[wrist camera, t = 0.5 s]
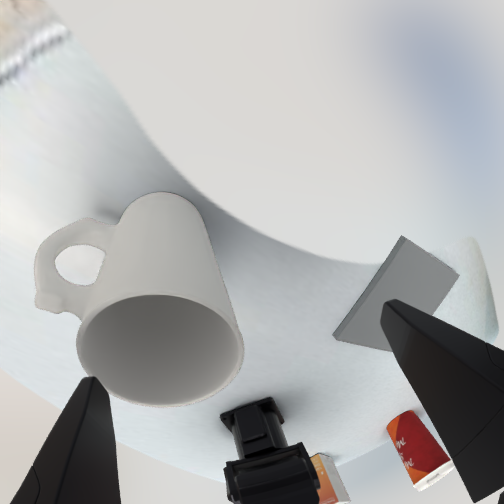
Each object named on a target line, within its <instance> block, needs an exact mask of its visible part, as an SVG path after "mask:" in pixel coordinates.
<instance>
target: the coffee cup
mask: <svg viewBox="0 0 504 504" xmlns="http://www.w3.org/2000/svg"><path fill="white" fill-rule="evenodd" d="M387 431H388V433H389V435H390V437H391V439H392V441H393V443H394V445H395V447H396V449H397V451H398V453H399V455H400V457H401V459H402V461H403V463H404V465H405V468H406V470H407V471H408V474H409V476H410V478H411V480H412V482H413V484H414V486H413V487H414V488H416V489H417V490H418V491H421V490H423V489H425V488H427V487H429V486H431V485H432V484H434V483H435V482H437V481H438V480H440V479H441V478H442V477H444V476H445V475H446V474H448V473H449V472H450V471H451V470H453V468H454V465H453V461H452V460H450V458H449V457H448V456H447V454H446V453H445V452H444V451H443V449H442V448H441V446H440V445H439V444H438V443H437V441H436V440H435V438H434V437H433V436H432V434H431V433H430V432H429V430H428V429H427V428H426V427H425V425H424V424H423V423H422V421H421V420H420V419H419V418H418V416H417V415H416V414H415V413H414V412H413V411H412V410H410V411H406V412H404V413H402V414H400V415H399V416H397V417H396V418H395V419H393V420H392V421H391V422H390V423H389V424H388V426H387Z"/></svg>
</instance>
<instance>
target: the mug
mask: <svg viewBox="0 0 504 504" xmlns="http://www.w3.org/2000/svg"><path fill="white" fill-rule="evenodd" d="M74 245H91V246H94V247H97V248H99V249H101V250H102V251H104V252H105V254H106V256H105V258H104V261H103V264H102V266H101V269H100V272H99V274H98V277H97V279H96V281H95V282H94V283H93V284H91V285H86V286H84V285H77V284H74V283H71V282H69V281H67V280H65V279H64V278H63V277H62V276H61V275H60V274H59V273H58V271H57V269H56V267H55V259H56V257H57V256H58V255H59V254H60V253H61V252H62V251H63V250H65V249H66V248H68V247H70V246H74ZM34 279H35V286H36V295H35V306H36V307H37V308H38V309H42V310H46V311H49V312H52V313H55V314H59V313H62V312H70V313H72V314H75V315H76V316H77V317H79V319H80V320H81V321H82V323H81V325H80V327H79V330H78V333H77V338H76V348H77V354H78V357H79V360H80V363H81V365H82V367H83V368H84V370H85V372H86V373H87V374H88V376H89V377H90V376H95V377H97V378H98V380H99V381H100V382H101V384H102V385H103V386H104V388H105V389H106V390H107V392H108V393H109V394H111V395H113V396H115V397H117V398H119V399H121V400H124V401H127V402H130V403H133V404H137V405H141V406H147V407H158V408H168V407H179V406H185V405H189V404H193V403H197V402H199V401H202V400H205V399H207V398H209V397H211V396H213V395H215V394H216V393H218V392H219V391H221V390H222V389H224V388H225V387H226V386H227V385H228V384H229V383H230V382H231V381H232V380H233V379H234V378H235V377H236V375H237V374H238V372H239V370H240V368H241V365H242V362H243V358H244V343H243V338H242V335H241V333H240V331H239V328H238V325H237V321H236V318H235V314H234V311H233V308H232V305H231V302H230V299H229V296H228V293H227V290H226V287H225V284H224V281H223V279H222V276H221V273H220V270H219V267H218V264H217V261H216V258H215V255H214V252H213V248H212V245H211V242H210V239H209V236H208V233H207V231H206V228H205V225H204V222H203V219H202V217H201V215H200V213H199V212H198V210H197V209H196V208H195V206H194V205H193V204H192V203H190V202H189V201H188V200H186V199H185V198H183V197H181V196H179V195H176V194H173V193H167V192H155V193H150V194H147V195H144V196H142V197H140V198H138V199H136V200H135V201H134V202H132V203H131V204H130V205H129V206H128V207H127V209H126V210H125V211H124V213H123V215H122V217H121V219H120V221H119V223H118V224H116V225H108V224H104V223H101V222H98V221H96V220H93V219H91V218H83V219H81V220H79V221H76V222H74V223H72V224H70V225H68V226H66V227H64V228H62V229H60V230H58V231H56V232H54V233H53V234H52V235H50V236H49V237H48V238H47V239H46V240H45V241H44V242H43V243H42V244H41V245H40V247H39V249H38V251H37V253H36V256H35V261H34Z"/></svg>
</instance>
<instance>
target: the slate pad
mask: <svg viewBox="0 0 504 504" xmlns="http://www.w3.org/2000/svg"><path fill="white" fill-rule="evenodd" d="M459 276H460V275H459V274H457V273H456V272H455V271H454V270H452V269H451V268H449V267H448V266H446V265H445V264H444V263H442V262H441V261H439V260H438V259H436V258H435V257H434V256H432V255H431V254H429V253H428V252H426V251H425V250H423V249H422V248H420V247H419V246H417V245H416V244H414V243H413V242H411V241H410V240H408V239H407V238H405V237H403V236H401V237H400V238H399V240H398V241H397V243H396V245H395V246H394V248H393V249H392V251H391V253H390V254H389V256H388V257H387V259H386V260H385V262H384V263H383V265H382V266H381V268H380V269H379V271H378V272H377V274H376V275H375V277H374V278H373V280H372V281H371V283H370V284H369V285H368V287H367V288H366V290H365V291H364V293H363V294H362V296H361V297H360V298H359V300H358V301H357V303H356V304H355V305H354V307H353V308H352V310H351V311H350V312H349V314H348V315H347V316H346V318H345V319H344V320H343V322H342V323H341V324H340V326H339V327H338V328H337V330H336V331H335V332H334V334H333V336H334V338H335V339H336V340H338V341H343V342H347V343H352V344H356V345H361V346H366V347H370V348H375V349H380V350H385V351H390V352H393V351H392V349H391V347H390V345H389V343H388V341H387V338H386V336H385V334H384V332H383V330H382V328H381V325H380V318H381V312H382V307H383V304H384V302H386V301H389V300H391V299H398V300H400V301H402V302H404V303H407V304H409V305H411V306H413V307H415V308H417V309H419V310H421V311H423V312H425V313H427V314H430V315H433V313H434V312H435V311H436V309H437V308H438V307H439V305H440V304H441V302H442V301H443V300H444V298H445V297H446V295H447V294H448V292H449V291H450V289H451V288H452V286H453V285H454V283H455V282H456V280H457V279H458V277H459Z"/></svg>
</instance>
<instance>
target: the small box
mask: <svg viewBox="0 0 504 504" xmlns="http://www.w3.org/2000/svg"><path fill="white" fill-rule="evenodd" d="M310 459H311V461H312V463H313V465H314V467H315V469H316V472H317V475H318V478H319V481H320V486H321V489H319V490H317V492H318V495H319V498H320V501H319V504H346V503H349V502H350V501H351V500H350V498H349V496H348V493H347V492H346V489H345V487H344V485H343V482H342V480H341V478H340V476H339V474H338V471H337V469H336V467H335V464H334V462H333V460H332V458H331V457H328V456H325V455H322V454H317V455H315V456H313V457H312V458H310Z"/></svg>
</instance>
